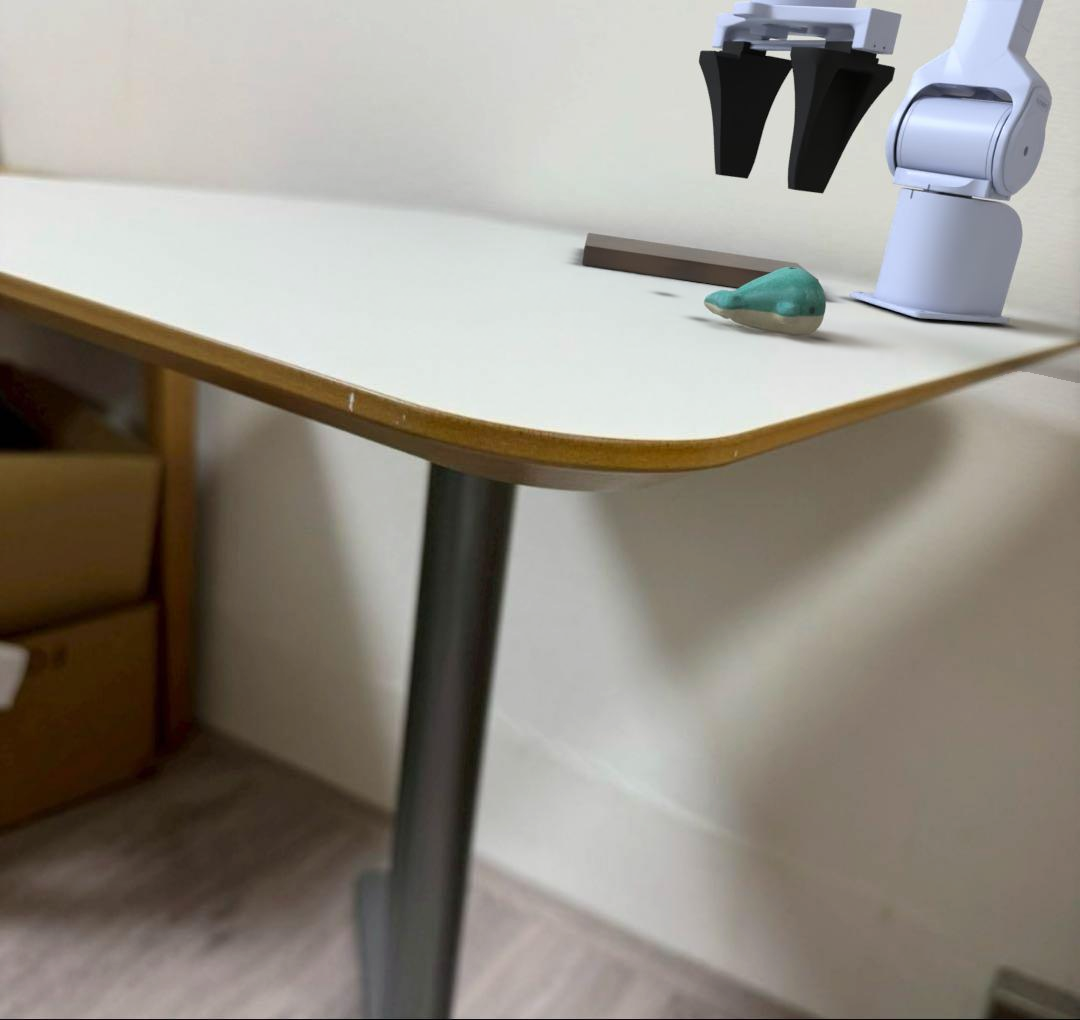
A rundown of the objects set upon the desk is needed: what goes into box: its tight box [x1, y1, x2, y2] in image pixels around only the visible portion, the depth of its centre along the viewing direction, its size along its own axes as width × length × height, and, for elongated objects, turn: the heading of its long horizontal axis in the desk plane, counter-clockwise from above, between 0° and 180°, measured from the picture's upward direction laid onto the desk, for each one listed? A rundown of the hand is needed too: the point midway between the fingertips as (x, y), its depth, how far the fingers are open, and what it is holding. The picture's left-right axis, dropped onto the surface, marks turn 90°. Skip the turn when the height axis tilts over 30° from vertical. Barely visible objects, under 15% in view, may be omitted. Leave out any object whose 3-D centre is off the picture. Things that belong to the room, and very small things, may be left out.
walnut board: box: [581, 232, 820, 289], centre depth 85 cm, size 18×10×2 cm, turn 86°
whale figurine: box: [703, 267, 827, 336], centre depth 64 cm, size 6×7×4 cm
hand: (766, 183), depth 62 cm, fingers open, 7 cm apart
